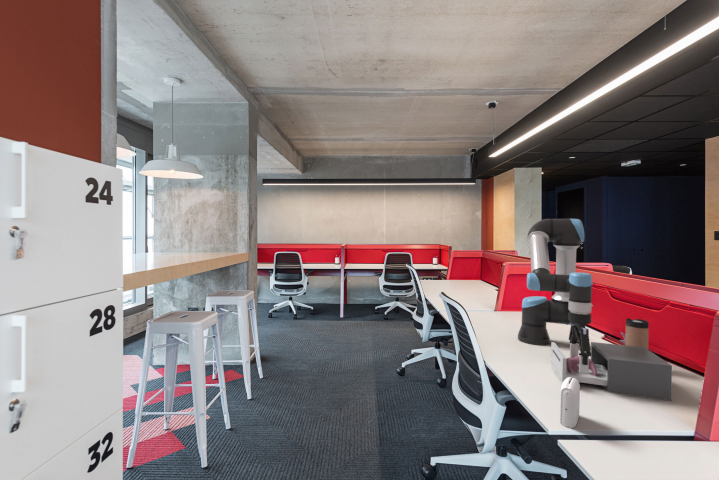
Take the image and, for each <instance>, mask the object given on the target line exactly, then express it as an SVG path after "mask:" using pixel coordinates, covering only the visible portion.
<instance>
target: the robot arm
mask: <svg viewBox="0 0 719 480" xmlns="http://www.w3.org/2000/svg"><path fill="white" fill-rule="evenodd" d="M526 239H527V242H528V243H529V247H530V249H529V252H530V253H529V254H530V271H531V272H528V273H527V274H526V288H527V289H528V291H529V290H530V291H537V292H554V294H553V295H552V296H551V300H550V299H548V298H547V297H546V296H540V295H539V296H538V295H536V296H535V295H533V296H527V297H526V296H525V297H524V298H523V299H522V302H521V326H520V327H519V330H518V333H517V339H518V340H519V341H520V342H523V343H525V344H526V343H527V344H530V345H536V346H545V345H549V344H550V342H551V341H550V340H551V339H550V334H549V332H548V329H547V323H548V324H549V323H550V324H559V325H566V326H570V330H569V335H568V340H569V343H570V344H569V357H572V356H580V367H579V372H580V373H588V370H589V359H590V358H589V357H591V342H590V335H589V334H590V333H589V331H590V330H589V328H586V325H590V324H591V323H592V314H591V313H592V308H593V307H594V304H592V299H593V298H592V297H593V296H592V295H593V284H594V282H593V276H592V274H591V273H587V272H578V271H577V272H576V270H577V269H576V267H577V249H578V248H580V247H581V243H584V242H585V229H584V225H583V222H582V220H581V219H579V218H545V219H541V220H539V221H537V222H535V223H534V224H533V225H532V226H531V227H530V228H529V230H528V233H527V238H526ZM550 242H552V245H553V247H555V249H556V250H555V251H556V254H555V257H556V259H555V261H556V262H555V274H554V273H551V266H550V255H549V249H548V248H549V246H548V243H550Z"/></svg>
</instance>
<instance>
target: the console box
mask: <svg viewBox="0 0 719 480" xmlns="http://www.w3.org/2000/svg"><path fill="white" fill-rule="evenodd" d="M590 350H591V356H590V359H591V360H592V361H593V362H594V364H598V365H603V366H604V367H605V368H606V369H607V370H608V375H607V386H604V385H602V387H604V389H605V390H606V391H607V392H608V393H614V394H619V395H620V394H621V395H628V396H636V397H641V398H650V399H656V400H664V401H672V385H673V382H672V380H673V364H672V365H671V364H670V363H669V362H667V361H666V360H664V359H662V358H661V357H660V356H658V355H656V353H654V352H652V351H651V350H649V348H648V349H646V348H645V347H637V346H627V345H625V344H615V343H605V342H604V343H603V342H595V341H594V342H593V341H591V342H590Z"/></svg>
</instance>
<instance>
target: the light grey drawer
mask: <svg viewBox="0 0 719 480" xmlns="http://www.w3.org/2000/svg"><path fill="white" fill-rule="evenodd" d="M550 342H551V345H550V346H551V347H550V352H551V353H550V363H551V365H552V366H553V368H554V370H555V372H556V374H557V375H558V377H559V378H560V380H561V382H562V383H563V382H564V380H565V379H566V378H568V377H571V378H575V379H577V380H578V382H579V383H580V384H581V383H584V384H589V385H597V386H603V385H604V386H607V375H608V370H607V369H606V368H605V367H604V366H603V365H598V364H595V367H596V371H597V375H596V376H594V375H593V373H592V371H591V370H590V369H589V371H588V373H580V372H579V370H578V371H574V370H573V369H572V372H571V373H569V371H568V369H567V365H566V359H567V357H566V356H565V354H564V353H563V352H562V351H561V349H560V347H559V346H558V345H557V343H556V342H555V341H554V342H553V341H550ZM577 365H578V366H579V367H580V364H577ZM604 386H603V387H604Z"/></svg>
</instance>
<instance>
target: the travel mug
mask: <svg viewBox="0 0 719 480" xmlns="http://www.w3.org/2000/svg"><path fill="white" fill-rule="evenodd" d="M649 324H650V323H649V321H648V320H645V319H640V318H639V319H638V318H636V319H631V318H630V317H629V318H626V319H625V333H624V334H625V339H624V340H625V344H624V345H627V346H637V347H645V348H646V349H648V350H649V328H650V327H649V326H650V325H649Z"/></svg>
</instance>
